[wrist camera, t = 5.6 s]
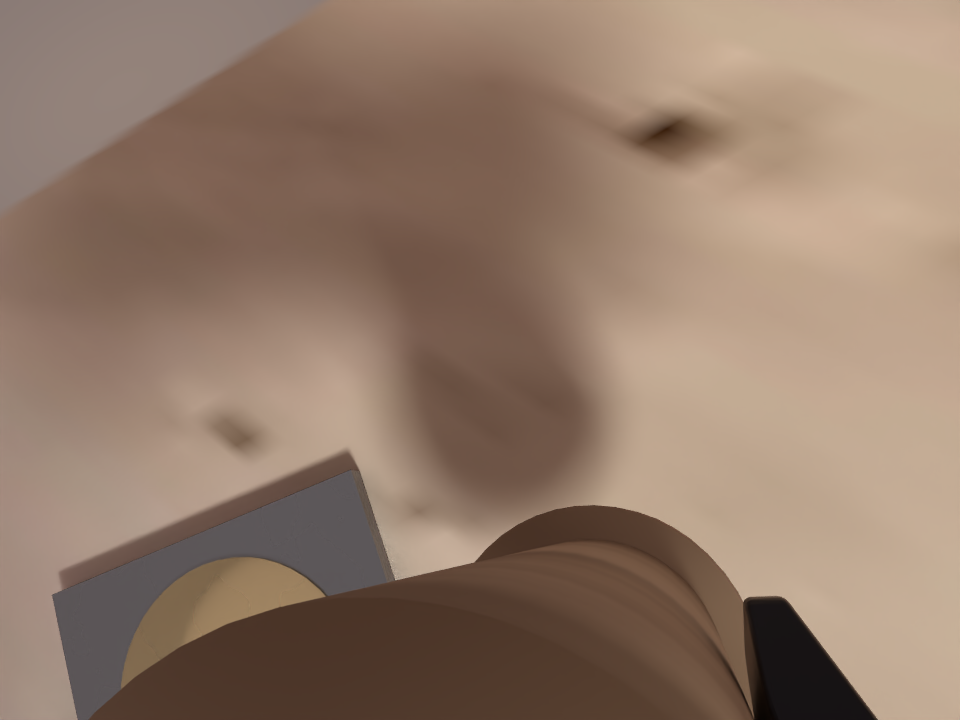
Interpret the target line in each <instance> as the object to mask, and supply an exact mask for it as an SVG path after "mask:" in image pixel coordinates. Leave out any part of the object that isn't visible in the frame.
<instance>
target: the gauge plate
mask: <svg viewBox="0 0 960 720" xmlns="http://www.w3.org/2000/svg"><path fill="white" fill-rule="evenodd" d="M392 581H395V580H394V576H393V573H392V570H391V567H390V564H389V561H388V558H387V555H386V552H385V549H384V546H383V543H382V540H381V537H380V533H379V530H378V527H377V524H376V521H375V518H374V515H373V512H372V509H371V506H370V503H369V500H368V497H367V493H366V490H365V487H364V484H363V481H362V478H361V475H360V472H359V471H356V470H349V471H347V472H345V473H342V474H340V475H337V476H335V477H333V478H330V479H328V480H325V481H323V482H321V483H318V484H316V485H313V486H311V487H309V488H306V489H304V490H302V491H299V492H297V493H294V494H292V495H290V496H287V497H285V498H282V499H280V500H278V501H275V502H273V503H270V504H268V505H266V506H263V507H261V508H259V509H256V510H254V511H251V512H249V513H247V514H244V515H242V516H239V517H237V518H235V519H232V520H230V521H227V522H225V523H223V524H220V525H218V526H216V527H213V528H211V529H208V530H206V531H204V532H201V533H199V534H196V535H194V536H192V537H189V538H187V539H184V540H182V541H180V542H177V543H175V544H173V545H170V546H168V547H165V548H163V549H161V550H158V551H156V552H153V553H151V554H149V555H146V556H144V557H141V558H139V559H137V560H134V561H132V562H129V563H127V564H125V565H122V566H120V567H118V568H115V569H113V570H110V571H108V572H106V573H103V574H101V575H98V576H96V577H94V578H91V579H89V580H86V581H84V582H82V583H79V584H77V585H75V586H72V587H70V588H67V589H65V590H63V591H60V592H58V593H55V594H53V595H52V597H53V601H54V606H55V611H56V616H57V621H58V626H59V631H60V635H61V640H62V645H63V650H64V655H65V660H66V665H67V669H68V674H69V679H70V684H71V689H72V694H73V699H74V703H75V708H76V713H77V718H78V720H89V718H90V717H91V716H92V715H93V714H94V713H95V712H96V711H97V710H98V709H99V708H101V707H102V706H103V705H104V704H105V703H106V702H107V701H108V700H110V699H111V698H112V697H113V696H114V695H115V694H116V693H117V692H119V691H120V690H121V689H122V688H123V687H124V686H125V685H127V684H128V683H129V682H130V681H131V680H132V679H133V678H134V677H136V676H137V675H139V674H140V673H142V672H143V671H145V670H146V669H148V668H149V667H151V666H152V665H154V664H155V663H157V662H158V661H160V660H161V659H162V658H164V657H165V656H167V655H168V654H170V653H171V652H173V651H174V650H176V649H177V648H179V647H181V646H183V645H185V644H187V643H189V642H191V641H193V640H195V639H197V638H199V637H201V636H203V635H205V634H207V633H209V632H211V631H213V630H216V629H218V628H220V627H222V626H224V625H226V624H228V623H231V622H234V621H237V620H241V619H244V618H247V617H250V616H253V615H256V614H259V613H262V612H265V611H269V610H272V609H275V608H278V607H282V606H287V605H291V604H295V603H300V602H304V601H309V600H313V599H317V598H322V597H326V596H330V595H335V594H339V593H344V592H348V591H352V590H357V589H361V588H366V587H370V586H374V585H379V584H383V583H388V582H392Z"/></svg>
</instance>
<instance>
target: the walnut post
mask: <svg viewBox="0 0 960 720" xmlns="http://www.w3.org/2000/svg"><path fill="white" fill-rule="evenodd" d="M89 720H754V715H753V708H752V701H751V694H750V687H749V680H748V674H747V667H746V658H745V646H744V619H743V601H742V599H741V597H740V595H739V593H738V591H737V590H736V589H735V587H734V586H733V584H732V583H731V581H730V580H729V578H728V577H727V576H726V574H725V573H724V572H723V570H722V569H721V568H720V567H719V566H718V565H717V564H716V563H715V561H714V560H713V559H712V558H711V557H710V556H709V555H708V554H707V553H706V552H705V551H704V550H703V549H701V548H700V547H699V546H698V545H697V544H696V543H695V542H693V541H692V540H691V539H690V538H688V537H687V536H685V535H684V534H682V533H681V532H680V531H678V530H677V529H675V528H673V527H671V526H670V525H668V524H666V523H664V522H662V521H660V520H658V519H656V518H653V517H650V516H647V515H645V514H642V513H639V512H635V511H631V510H626V509H622V508H617V507H608V506H596V505H591V506H573V507H567V508H562V509H556V510H553V511H550V512H546V513H543V514H540V515H537V516H535V517H533V518H531V519H529V520H526V521H524V522H522V523H520V524H518V525H517V526H515V527H514V528H512V529H511V530H509V531H508V532H506V533H505V534H503V535H502V536H501V537H499V538H498V539H497V540H496V541H495V542H494V543H492V544H491V545H490V546H489V547H488V548H487V549H486V550H485V551H484V552H483V553H482V555H481V556H480V557H479V558H478V559H477V560H476V561H475V563H471V564H466V565H462V566H458V567H453V568H449V569H445V570H440V571H436V572H431V573H427V574H423V575H418V576H414V577H409V578H405V579H401V580H396V581H392V582H388V583H383V584H379V585H374V586H370V587H366V588H361V589H357V590H352V591H348V592H344V593H339V594H335V595H330V596H326V597H322V598H317V599H313V600H309V601H304V602H300V603H295V604H291V605H287V606H282V607H278V608H275V609H272V610H269V611H265V612H262V613H259V614H256V615H253V616H250V617H247V618H244V619H241V620H237V621H234V622H231V623H228V624H226V625H224V626H222V627H220V628H218V629H216V630H213V631H211V632H209V633H207V634H205V635H203V636H201V637H199V638H197V639H195V640H193V641H191V642H189V643H187V644H185V645H183V646H181V647H179V648H177V649H176V650H174V651H173V652H171V653H170V654H168V655H167V656H165V657H164V658H162V659H161V660H160V661H158V662H157V663H155V664H154V665H152V666H151V667H149V668H148V669H146V670H145V671H143V672H142V673H140V674H139V675H137V676H136V677H134V678H133V679H132V680H131V681H130V682H129V683H128V684H127V685H125V686H124V687H123V688H122V689H121V690H120V691H119V692H117V693H116V694H115V695H114V696H113V697H112V698H111V699H110V700H108V701H107V702H106V703H105V704H104V705H103V706H102V707H101V708H99V709H98V710H97V711H96V712H95V713H94V714H93V715H92V716H91V717H90V718H89Z"/></svg>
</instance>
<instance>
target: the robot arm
mask: <svg viewBox="0 0 960 720" xmlns="http://www.w3.org/2000/svg"><path fill="white" fill-rule="evenodd" d="M743 619H744V646H745V658H746V667H747V674H748V680H749V687H750V694H751V701H752V708H753V715H754V720H878V719H877V718H876V717H875V715H874V714H873V713H872V711H871V710H870V709H869V707H868V706H867V705H866V703H865V702H864V701H863V699H862V698H861V697H860V695H859V694H858V693H857V691H856V690H855V689H854V688H853V686H852V685H851V684H850V682H849V681H848V680H847V678H846V677H845V676H844V674H843V673H842V672H841V670H840V669H839V668H838V666H837V665H836V664H835V662H834V661H833V660H832V658H831V657H830V656H829V655H828V653H827V652H826V651H825V649H824V648H823V647H822V645H821V644H820V643H819V641H818V640H817V639H816V637H815V636H814V635H813V633H812V632H811V631H810V629H809V628H808V627H807V626H806V624H805V623H804V622H803V620H802V619H801V618H800V616H799V615H798V614H797V612H796V611H795V610H794V608H793V607H792V606H791V604H790V603H789V602H788V601H787V600H786V599H784V598H782V597H780V596H765V597H749V598H747V599H745V600H744V603H743Z"/></svg>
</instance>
